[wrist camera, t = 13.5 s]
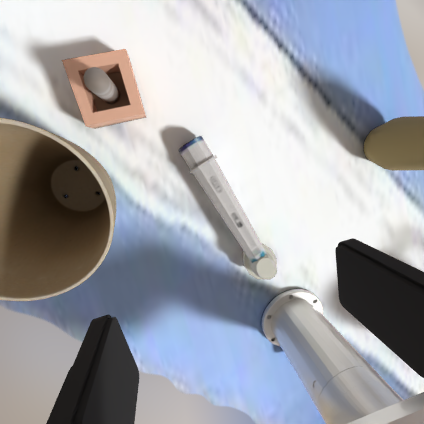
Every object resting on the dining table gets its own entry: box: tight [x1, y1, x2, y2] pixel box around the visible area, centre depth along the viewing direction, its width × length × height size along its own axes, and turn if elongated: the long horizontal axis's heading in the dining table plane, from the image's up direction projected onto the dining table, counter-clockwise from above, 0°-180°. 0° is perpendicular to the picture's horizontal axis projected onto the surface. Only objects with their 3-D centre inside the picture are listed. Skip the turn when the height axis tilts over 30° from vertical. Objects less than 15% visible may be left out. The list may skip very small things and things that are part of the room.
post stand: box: [84, 67, 145, 129], centre depth 28 cm, size 7×7×8 cm
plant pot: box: [0, 118, 116, 301], centre depth 26 cm, size 15×15×16 cm
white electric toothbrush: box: [179, 136, 277, 279], centre depth 37 cm, size 5×7×25 cm
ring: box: [62, 49, 146, 128], centre depth 29 cm, size 7×7×3 cm
